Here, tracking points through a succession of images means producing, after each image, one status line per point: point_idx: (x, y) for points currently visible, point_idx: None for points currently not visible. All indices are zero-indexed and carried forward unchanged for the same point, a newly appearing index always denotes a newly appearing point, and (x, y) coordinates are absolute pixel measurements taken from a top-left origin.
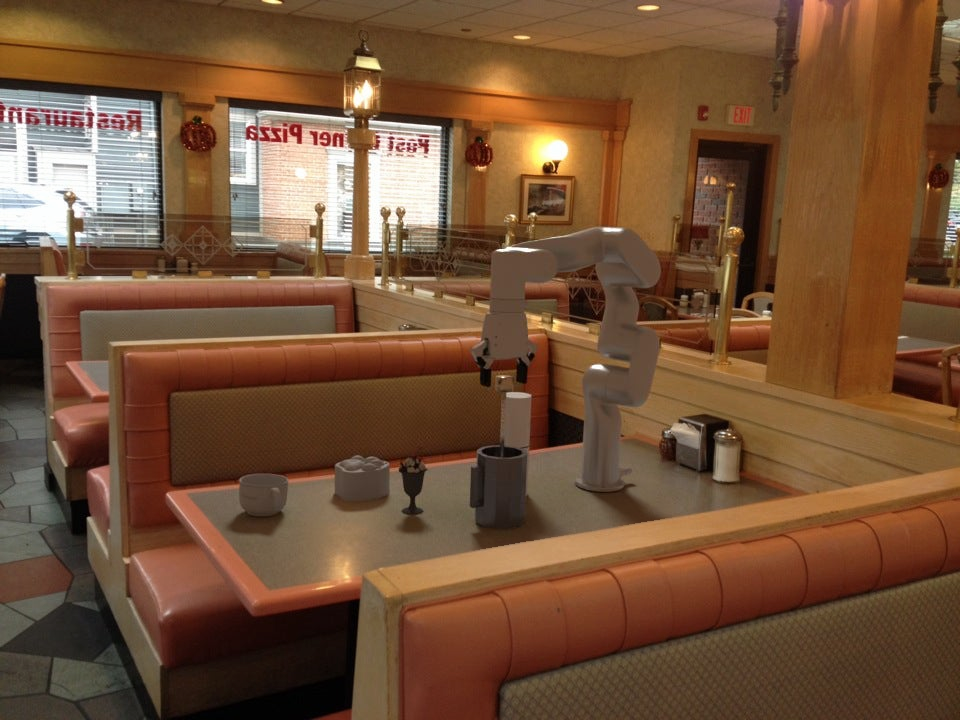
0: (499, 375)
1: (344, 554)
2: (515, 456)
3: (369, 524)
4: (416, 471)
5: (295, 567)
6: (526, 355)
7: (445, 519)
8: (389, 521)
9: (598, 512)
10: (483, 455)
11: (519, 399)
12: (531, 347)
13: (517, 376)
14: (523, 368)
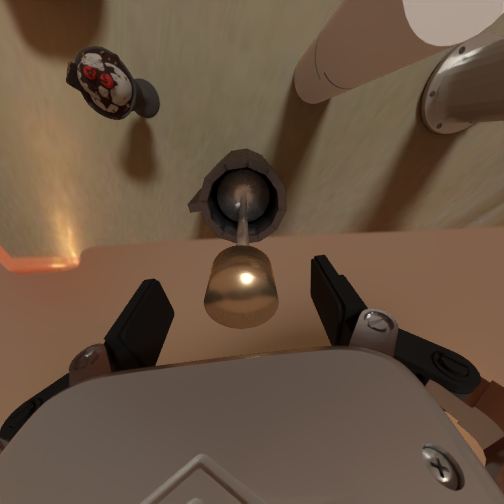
0: (234, 276)
1: (63, 212)
2: (275, 189)
3: (81, 132)
4: (111, 110)
5: (19, 225)
6: (421, 372)
7: (183, 151)
8: (109, 130)
9: (359, 196)
10: (204, 215)
11: (420, 44)
12: (485, 467)
13: (318, 276)
14: (330, 338)
